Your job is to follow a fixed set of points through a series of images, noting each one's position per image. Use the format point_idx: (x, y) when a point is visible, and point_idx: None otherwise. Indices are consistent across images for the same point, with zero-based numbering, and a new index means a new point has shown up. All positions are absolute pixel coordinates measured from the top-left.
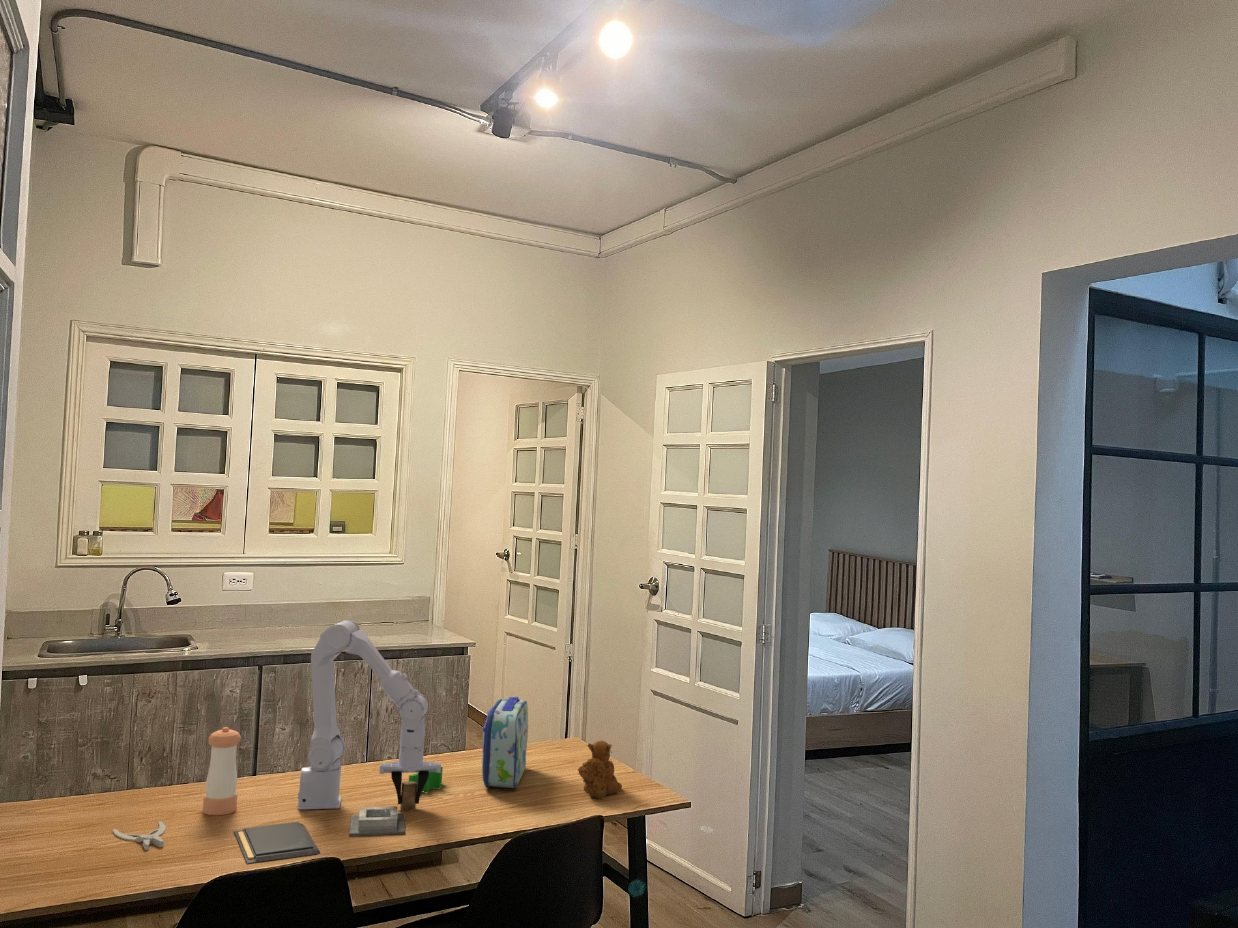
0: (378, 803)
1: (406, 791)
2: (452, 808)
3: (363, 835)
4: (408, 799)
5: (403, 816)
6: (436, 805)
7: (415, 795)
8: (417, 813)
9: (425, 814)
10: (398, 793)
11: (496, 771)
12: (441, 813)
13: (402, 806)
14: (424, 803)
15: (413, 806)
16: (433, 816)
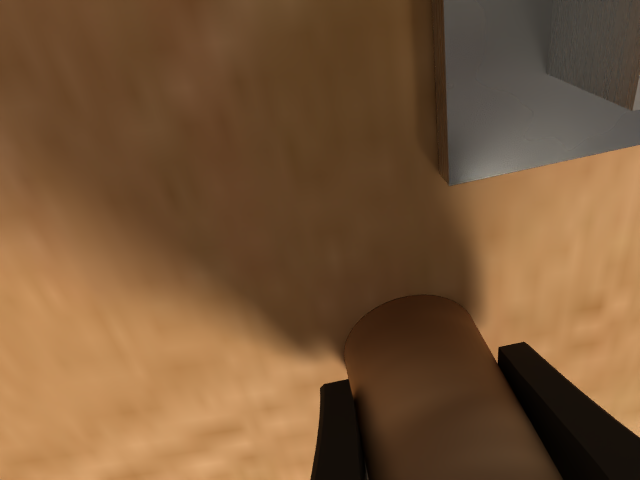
0: (632, 393)
1: (517, 472)
2: (9, 404)
3: None
4: (443, 385)
5: (455, 66)
6: (181, 432)
7: (374, 456)
8: (303, 252)
9: (211, 237)
10: (607, 430)
11: None
12: (49, 285)
13: (471, 329)
14: (289, 446)
15: (364, 346)
16: (98, 191)
